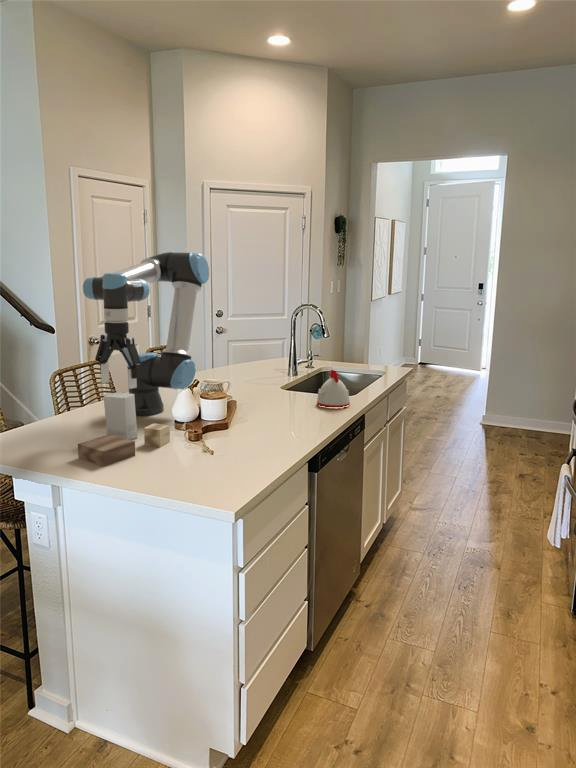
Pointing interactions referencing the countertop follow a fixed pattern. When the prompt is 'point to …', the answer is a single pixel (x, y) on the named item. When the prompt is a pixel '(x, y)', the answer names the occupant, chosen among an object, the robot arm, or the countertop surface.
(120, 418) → the skincare box
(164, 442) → the oak cube
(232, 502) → the countertop surface
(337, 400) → the kitchen timer
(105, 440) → the walnut pedestal
